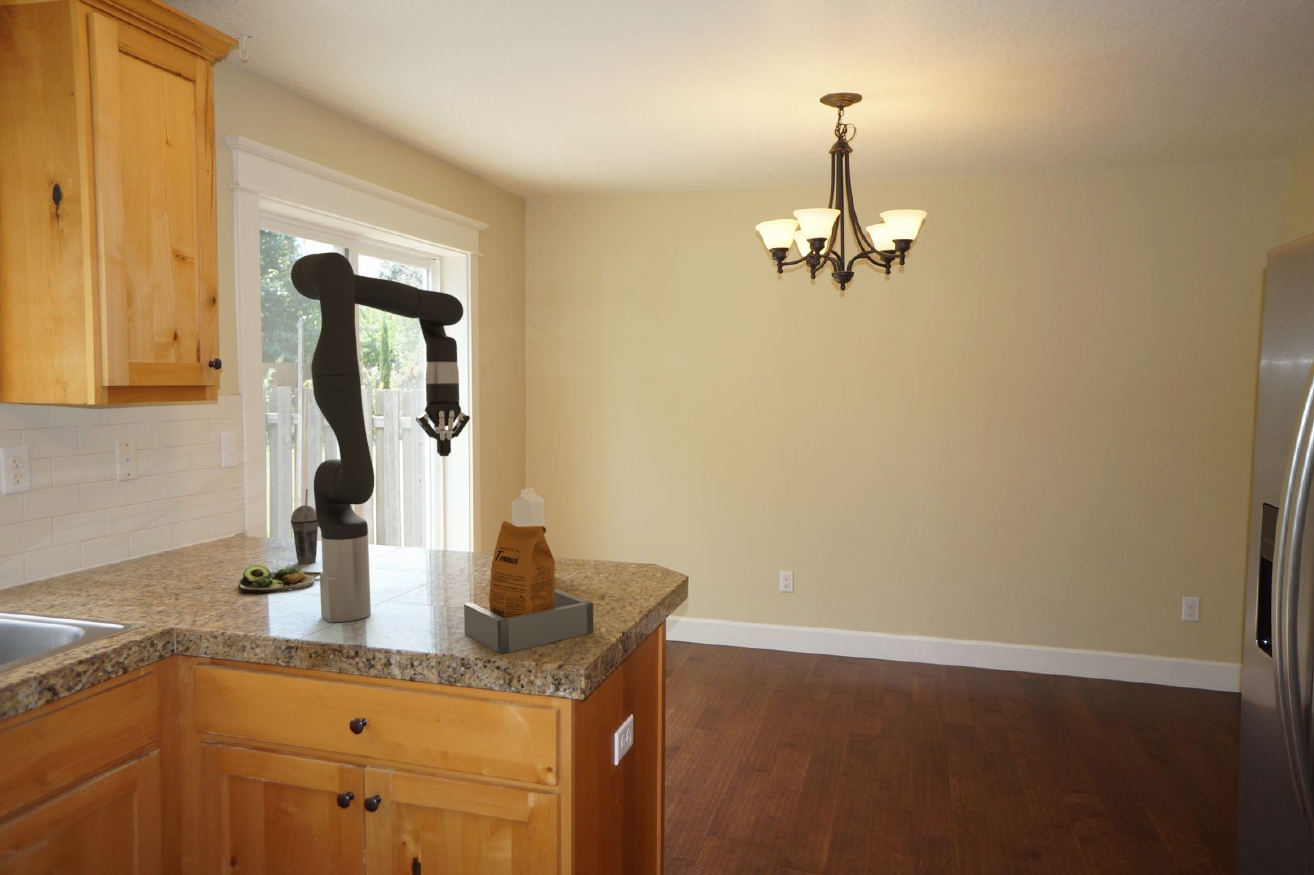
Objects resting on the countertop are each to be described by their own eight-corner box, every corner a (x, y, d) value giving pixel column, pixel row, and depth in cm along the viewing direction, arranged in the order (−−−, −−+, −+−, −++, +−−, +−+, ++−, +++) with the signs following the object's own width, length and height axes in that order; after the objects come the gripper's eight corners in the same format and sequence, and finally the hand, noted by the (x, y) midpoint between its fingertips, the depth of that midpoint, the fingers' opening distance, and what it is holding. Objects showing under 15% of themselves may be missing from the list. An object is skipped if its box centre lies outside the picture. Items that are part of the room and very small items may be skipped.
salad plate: (322, 572, 222) (322, 555, 221) (328, 588, 206) (328, 569, 205) (239, 581, 213) (238, 563, 213) (239, 598, 197) (238, 578, 197)
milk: (512, 576, 215) (510, 489, 213) (526, 571, 220) (524, 486, 218) (533, 578, 212) (530, 490, 210) (546, 573, 218) (544, 487, 216)
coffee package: (519, 622, 175) (516, 516, 173) (563, 634, 167) (561, 522, 165) (481, 635, 167) (478, 523, 165) (525, 647, 159) (523, 530, 158)
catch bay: (501, 654, 156) (500, 621, 155) (464, 633, 168) (464, 603, 167) (593, 632, 168) (593, 602, 167) (552, 615, 180) (552, 587, 180)
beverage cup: (286, 564, 230) (283, 490, 228) (304, 559, 237) (301, 487, 235) (308, 566, 227) (305, 491, 226) (326, 560, 234) (324, 488, 233)
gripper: (421, 382, 192) (423, 458, 193) (475, 381, 200) (477, 455, 201) (408, 382, 198) (410, 456, 199) (461, 381, 206) (463, 453, 207)
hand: (444, 455), depth 200 cm, fingers closed
